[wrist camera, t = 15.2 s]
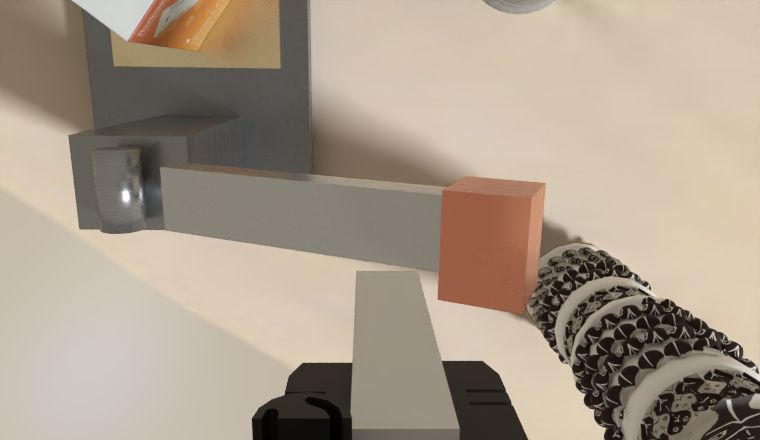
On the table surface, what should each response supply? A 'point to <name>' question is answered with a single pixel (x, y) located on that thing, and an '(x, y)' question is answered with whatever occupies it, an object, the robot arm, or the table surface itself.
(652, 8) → the table surface
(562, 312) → the decorative candle
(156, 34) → the small box
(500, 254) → the lever
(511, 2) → the glass holder
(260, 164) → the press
